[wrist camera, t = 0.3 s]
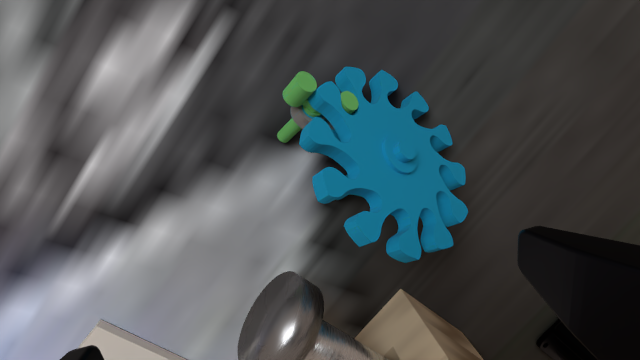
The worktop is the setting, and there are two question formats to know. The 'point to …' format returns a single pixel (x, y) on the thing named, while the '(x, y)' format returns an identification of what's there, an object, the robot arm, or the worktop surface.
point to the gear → (378, 159)
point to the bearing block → (414, 333)
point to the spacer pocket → (124, 345)
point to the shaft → (295, 326)
